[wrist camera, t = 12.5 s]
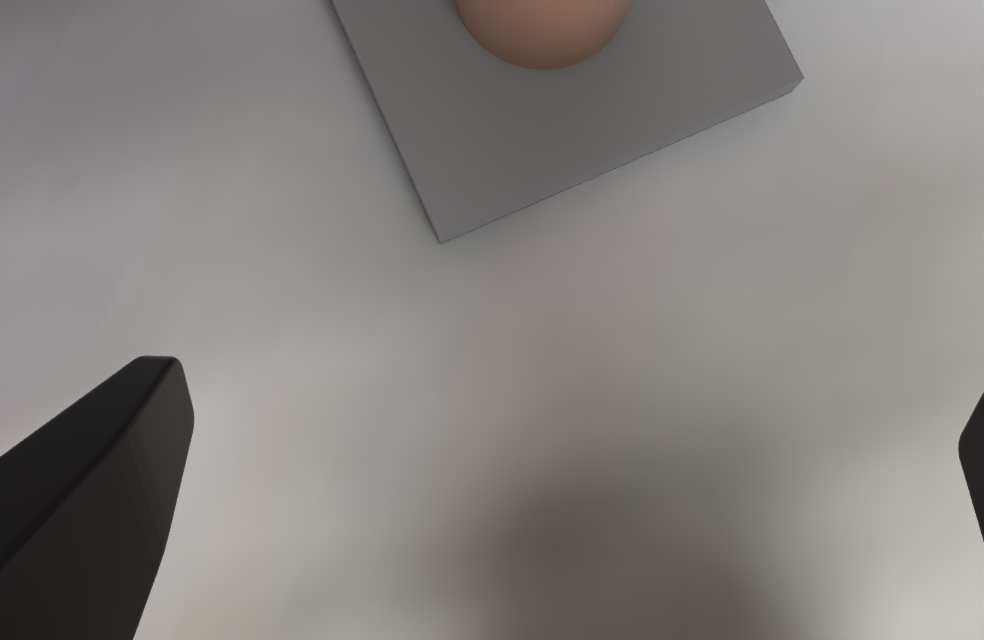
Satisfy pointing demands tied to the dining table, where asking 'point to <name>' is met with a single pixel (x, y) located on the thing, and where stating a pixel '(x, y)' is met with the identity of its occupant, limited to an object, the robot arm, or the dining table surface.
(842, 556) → the dining table surface
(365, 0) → the mat
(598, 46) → the terracotta cylinder
